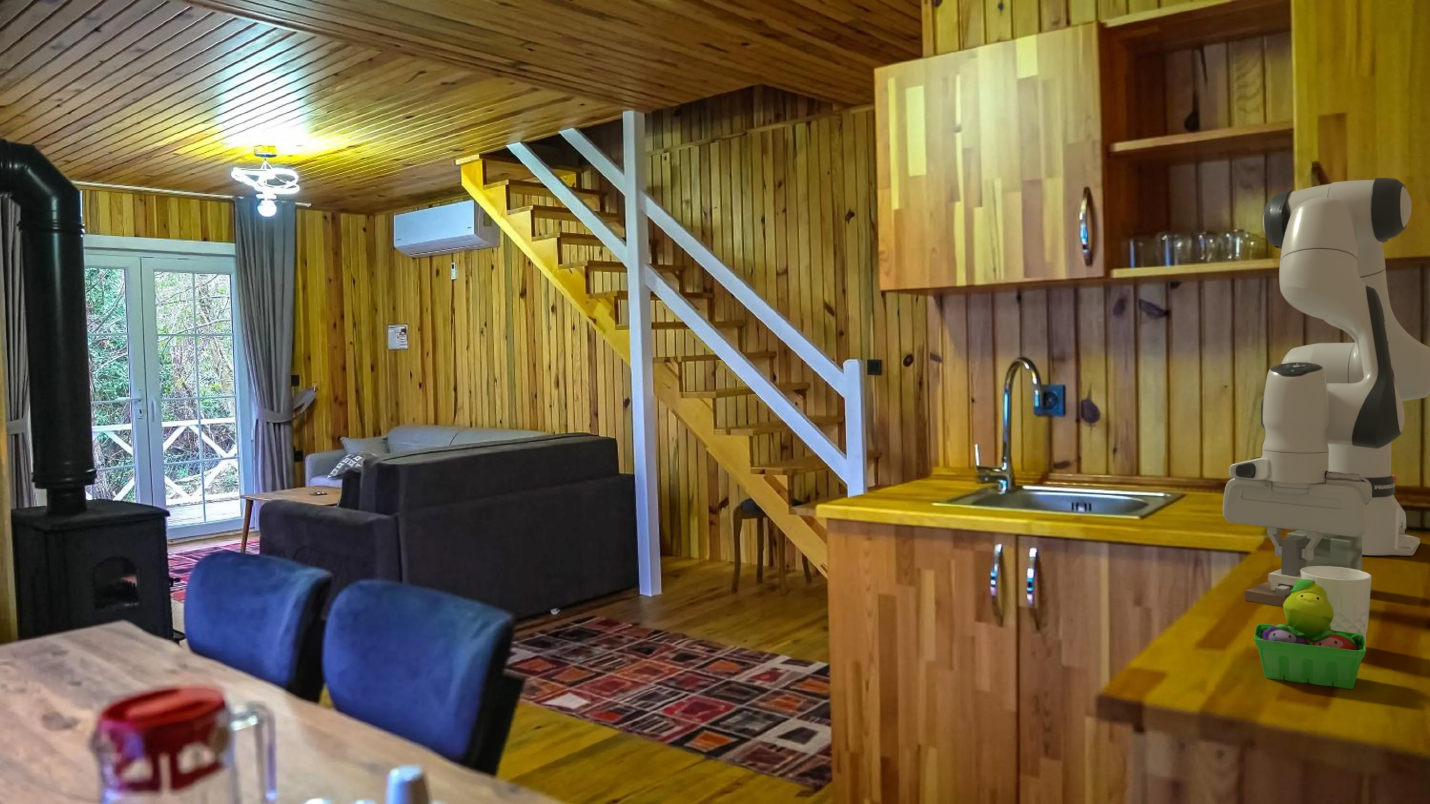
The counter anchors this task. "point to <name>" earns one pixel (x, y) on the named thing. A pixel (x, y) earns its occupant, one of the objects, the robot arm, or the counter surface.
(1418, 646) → the counter surface
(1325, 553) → the rail bed
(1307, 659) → the fruit basket
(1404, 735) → the counter surface
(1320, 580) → the white cup
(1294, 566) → the carriage
